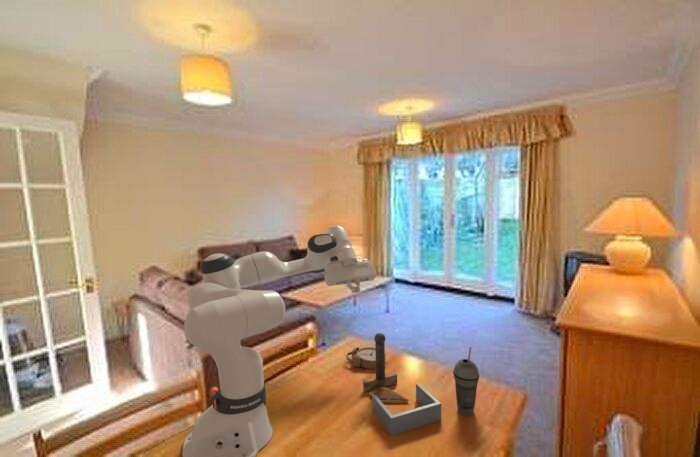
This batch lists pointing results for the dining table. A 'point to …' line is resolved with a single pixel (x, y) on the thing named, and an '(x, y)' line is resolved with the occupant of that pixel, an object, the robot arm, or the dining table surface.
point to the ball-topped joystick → (380, 367)
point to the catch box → (409, 413)
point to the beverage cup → (466, 385)
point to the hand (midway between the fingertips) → (356, 291)
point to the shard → (388, 396)
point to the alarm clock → (363, 357)
